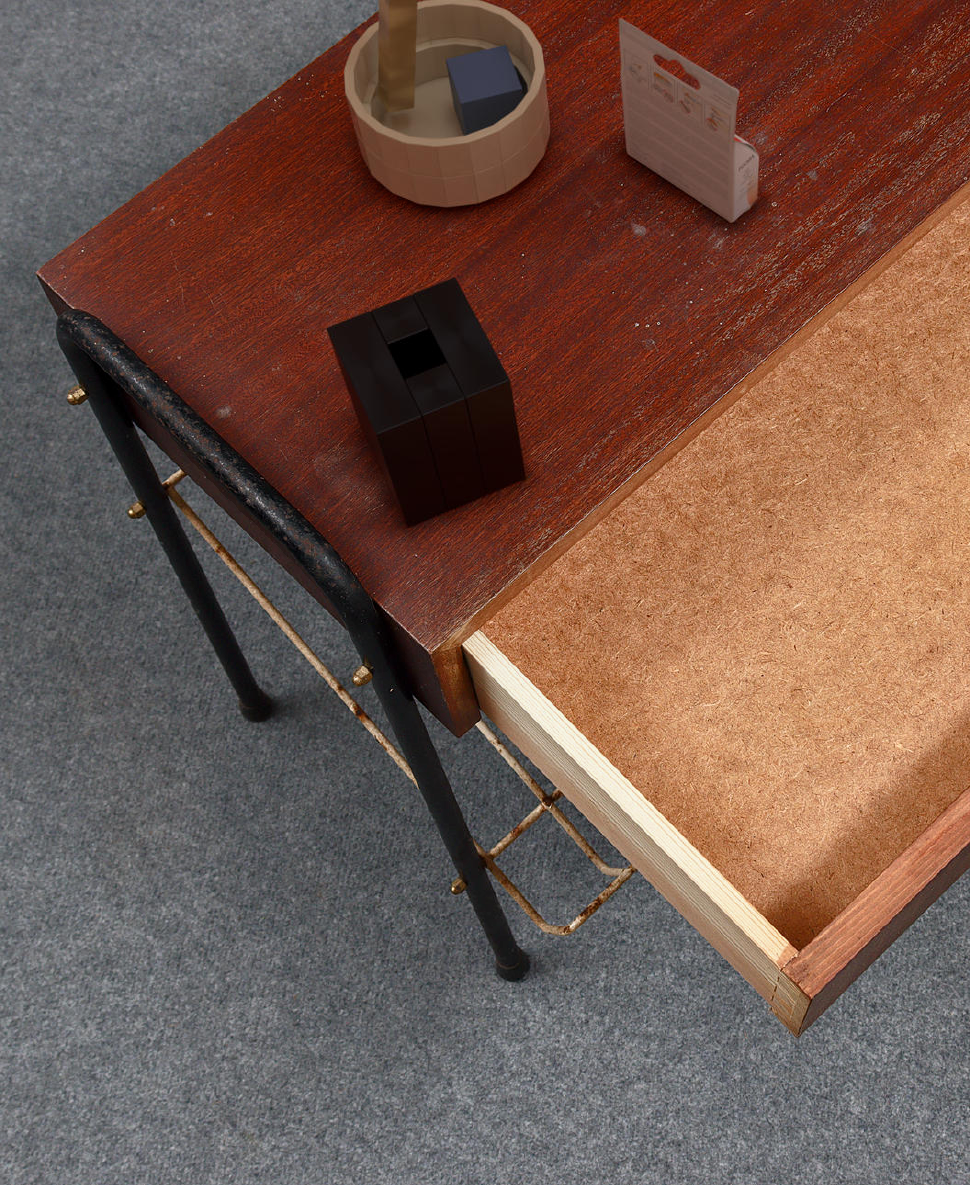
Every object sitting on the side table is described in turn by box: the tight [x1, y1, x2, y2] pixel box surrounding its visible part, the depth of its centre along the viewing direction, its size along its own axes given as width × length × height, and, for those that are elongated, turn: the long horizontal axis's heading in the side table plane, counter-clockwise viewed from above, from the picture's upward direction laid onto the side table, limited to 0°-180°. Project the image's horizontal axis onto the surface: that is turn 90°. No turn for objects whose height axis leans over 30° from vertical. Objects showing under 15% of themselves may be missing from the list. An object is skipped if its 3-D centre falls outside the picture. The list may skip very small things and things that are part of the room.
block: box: [446, 45, 523, 136], centre depth 90 cm, size 4×4×4 cm
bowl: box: [343, 0, 551, 208], centre depth 89 cm, size 12×12×6 cm
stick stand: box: [325, 276, 527, 529], centre depth 77 cm, size 7×7×10 cm
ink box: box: [618, 17, 760, 224], centre depth 84 cm, size 3×9×12 cm, turn 48°
